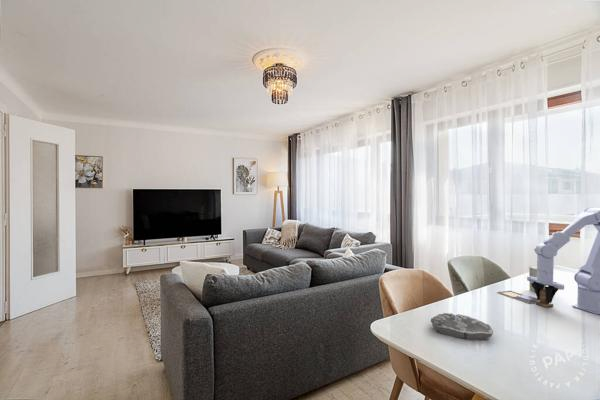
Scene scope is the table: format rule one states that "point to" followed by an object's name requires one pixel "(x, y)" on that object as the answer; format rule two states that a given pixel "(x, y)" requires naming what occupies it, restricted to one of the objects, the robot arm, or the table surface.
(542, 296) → the stamp
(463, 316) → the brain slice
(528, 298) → the ink pad
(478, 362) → the table surface
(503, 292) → the beige square tile
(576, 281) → the robot arm
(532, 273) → the skincare box
